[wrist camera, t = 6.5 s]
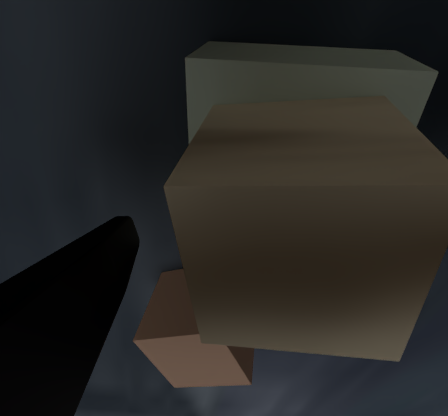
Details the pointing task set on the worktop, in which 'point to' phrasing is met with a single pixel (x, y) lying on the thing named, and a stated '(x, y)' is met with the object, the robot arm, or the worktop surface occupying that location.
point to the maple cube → (310, 225)
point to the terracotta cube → (187, 341)
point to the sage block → (301, 77)
